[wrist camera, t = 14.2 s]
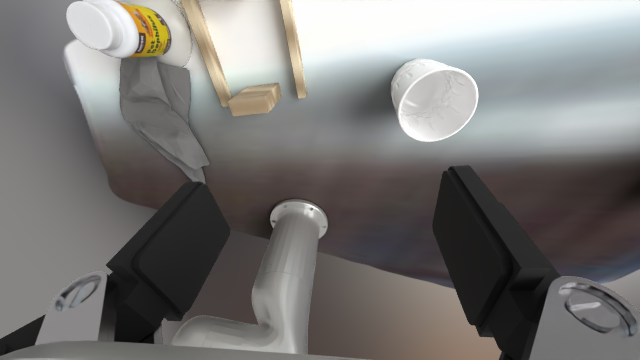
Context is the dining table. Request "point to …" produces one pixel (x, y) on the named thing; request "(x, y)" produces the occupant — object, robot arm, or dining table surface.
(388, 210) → the dining table surface
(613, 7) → the dining table surface
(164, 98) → the cloth
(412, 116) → the white cup
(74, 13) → the supplement bottle
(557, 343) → the robot arm
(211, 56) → the wooden slatted rack
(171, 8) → the coaster
